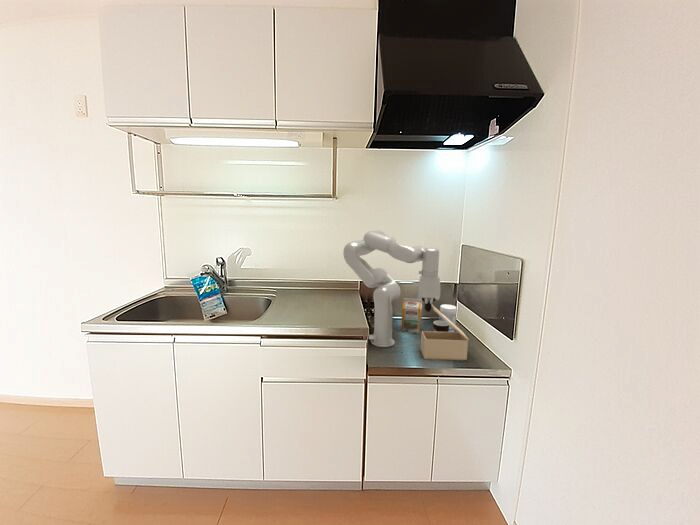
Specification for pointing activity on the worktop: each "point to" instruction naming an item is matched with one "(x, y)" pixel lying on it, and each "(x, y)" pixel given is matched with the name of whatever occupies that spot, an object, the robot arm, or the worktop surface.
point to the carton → (443, 345)
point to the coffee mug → (441, 326)
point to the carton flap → (449, 321)
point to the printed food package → (411, 316)
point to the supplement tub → (448, 314)
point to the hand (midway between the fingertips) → (427, 310)
